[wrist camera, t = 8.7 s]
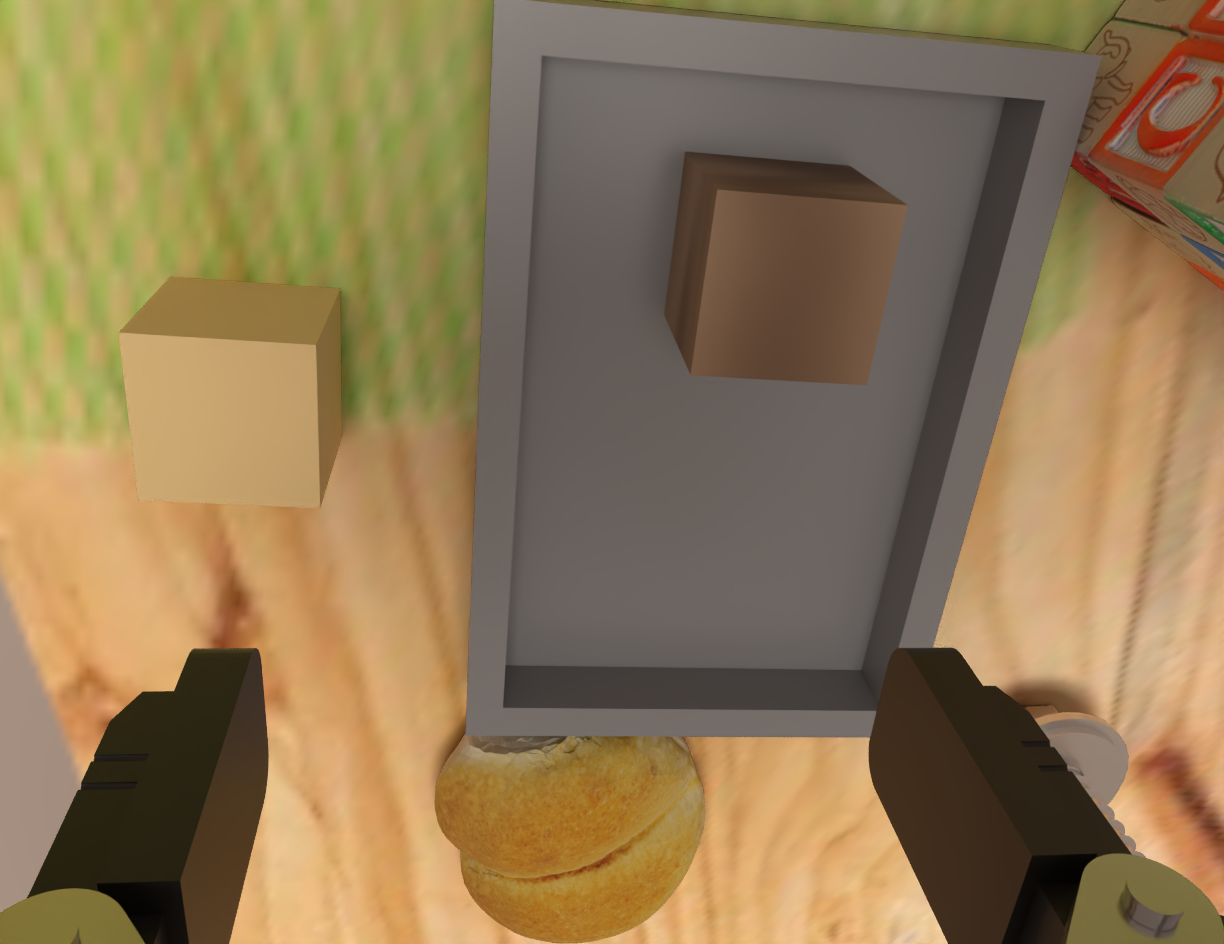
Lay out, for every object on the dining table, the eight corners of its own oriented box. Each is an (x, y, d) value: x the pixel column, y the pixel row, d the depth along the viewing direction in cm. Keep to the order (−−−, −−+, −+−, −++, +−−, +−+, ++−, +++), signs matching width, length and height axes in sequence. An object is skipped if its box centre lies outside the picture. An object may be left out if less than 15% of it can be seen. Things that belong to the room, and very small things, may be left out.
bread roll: (489, 907, 37) (489, 1011, 33) (411, 716, 32) (401, 813, 29) (719, 852, 37) (743, 952, 33) (670, 654, 32) (692, 743, 29)
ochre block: (340, 287, 26) (316, 345, 22) (342, 433, 28) (320, 508, 24) (171, 275, 25) (118, 332, 22) (184, 425, 27) (137, 500, 24)
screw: (981, 808, 36) (933, 718, 34) (1112, 747, 36) (1070, 651, 34) (1205, 1213, 25) (1153, 1117, 23) (1404, 1136, 24) (1370, 1029, 22)
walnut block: (849, 165, 25) (907, 205, 21) (817, 324, 27) (867, 385, 23) (685, 151, 24) (717, 189, 21) (664, 314, 26) (690, 375, 23)
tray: (1048, 44, 25) (1102, 56, 23) (879, 683, 33) (906, 737, 31) (494, -10, 23) (494, -3, 21) (467, 678, 32) (465, 735, 29)
